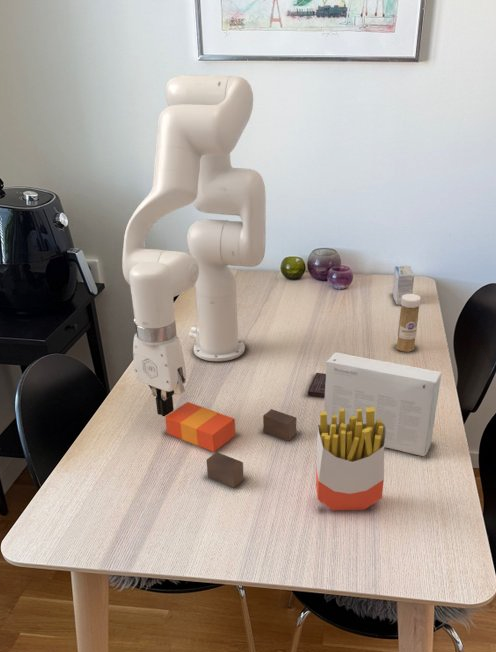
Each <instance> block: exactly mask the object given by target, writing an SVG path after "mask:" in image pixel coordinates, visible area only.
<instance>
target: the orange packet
mask: <svg viewBox="0 0 496 652" xmlns="http://www.w3.org/2000/svg"><path fill="white" fill-rule="evenodd" d="M164 419H165V427H166V434H167V435H170V436H172V437H175V438H177V439H180V440H182V441H185V442H187V443H189V444H193V445H194V446H197V447H200V448H203V449H205V450H207V451H210V452H213V453H216V452H217V451H218V450H219V449H220V448H221V447H222V446H224V445H225V444H226V443H228V442H229V441H231V439H233V438H234V437H235V436H236V419H235V418H234V417H232V416H228V415H226V414H223V413H220V412H218V411H215V410H212V409H210V408H207V407H205V406H204V407H203V406H200V405H198V404H195V403H192V402H189V401H187V402H185V403H184V404H182V405H181V406H179V407H178V408H176V409H174V410H173V411H172V412H171V413H169V414H168V415H166V416H164Z"/></svg>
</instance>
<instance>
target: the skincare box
mask: <svg viewBox="0 0 496 652" xmlns="http://www.w3.org/2000/svg"><path fill="white" fill-rule="evenodd" d="M325 374H326V384H325V398H323V399H324V400H323V401H324V403H323V404H324V405H323V406H324V408H323V410H324V411H323V412H325V411H327V425H331V423H332V415H337V424H339V411H340V409H345V424H349V420H350V417H351V416H356V418H357V409H361V410H362V419H363V424H366V408H369V407H374V410H375V419H374V424H376V419H382V423H384V425H385V428H386V437H385V447H384V448H385V449H386V448H387V449H391V450H395V451H399V452H404V453H407V454H412V455H416V456H421V457H425V456H426V455H427V453H428V452H429V451H430V448H431V446H432V440H433V433H434V426H435V420H436V413H437V407H438V406H437V405H438V399H439V393H440V387H441V380H442V379H441V378H442V371H438V370H432V369H426V368H420V367H416V366H411V365H406V364H400V363H395V362H391V361H390V362H389V361H384V360H379V359H372V358H368V357H363V356H357V355H351V354H348V353H347V354H346V353H341V352H337V351H336V352H334V353H333V354H332V355H331V356H330V357H329V358H328V359H327V360H326V362H325ZM356 422H357V419H356Z"/></svg>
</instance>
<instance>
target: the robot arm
mask: <svg viewBox="0 0 496 652" xmlns="http://www.w3.org/2000/svg"><path fill="white" fill-rule="evenodd" d="M165 99H166V103H167V107H165V108H164V109H163V110H162V111H161V112H160V114H159V116H158V120H157V131H156V141H155V150H154V151H155V152H154V162H153V173H152V186H151V189H150V192H149V193H148V195H147V196H146V197H145V198H144V199H143V200H142V201H141V202H140V203H139V205H138V206H137V207H136V209H135V210H134V212H133V213H132V215H131V217H130V218H129V220H128V223H127V225H126V228H125V232H124V236H123V246H122V258H121V259H122V260H121V263H122V266H121V268H122V275H123V277H124V280H125V282H126V283H127V284H128V285H129V289H130V294H131V299H132V300H131V303H132V309H133V316H134V317H133V318H134V319H133V324H134V325H135V332H136V333H134V336H133V345H132V358H133V369H134V370H133V371H134V376H135V379H136V380H137V381H138V382H140V383H142V384H145V385H147V386H148V387H149V388H150V390H151V394H152V396H153V397H154V398H155V406H156V412H157V413H156V414H157V415H159V416H161V417H166V416H167V415H169V414H170V413H172V412H173V411H175V409H174V408H175V407H174V400H173V396H174V395H176V396H177V395H178V396H181V395H182V394H184V393H185V392H186V389H185V386H184V384H186V382H187V369H186V363H185V356H184V352H183V347H182V344H181V340H180V337H179V336H178V333H177V322H176V321H177V320H176V313H175V312H176V311H175V301H174V298H175V297H177V296H180V295H182V294H184V293H187V292H188V291H189V290H191V289H192V288H193V287H194V290H195V303H196V315H197V326H195V325H192V326H191V327H190V331H189V332H188V335H187V336H188V337H189V338H191V339H195V341H196V342H195V343H194V345H193V353H194V355H195V356H196V357H197V358H199V359H201V360H204V361H207V362H227V361H232V360H235V359H237V358H239V357H241V356H242V355H243V354H244V353H245V350H246V344H245V342H244V341H242V340H241V339H240V338H239V325H238V323H239V321H238V301H237V283H236V282H237V281H236V277H235V276H234V273H233V271H232V270H231V268H230V266H232V267H243V268H244V267H245V268H254V267H257V266H259V265H261V263H262V262H263V260H264V258H265V253H266V241H267V240H266V239H267V238H266V233H267V231H266V230H267V228H266V227H267V225H266V221H267V220H266V217H267V213H266V209H267V208H266V207H267V206H266V205H267V203H266V201H267V200H266V199H267V198H266V196H267V195H266V185H265V181H264V178H263V176H262V175H261V173H259V171H257V170H255V169H251V168H245V167H243V168H242V167H233V166H232V164H231V163H232V162H231V153H232V152H233V151H234V149H235V148H236V146H237V144H238V143H239V140H240V139H241V136H242V134H243V133H244V131H245V129H246V127H247V125H248V124H249V121H250V118H251V115H252V112H253V109H254V92H253V90H252V86H251V84H250V83H249V81H248V80H247V79H245V78H244V77H242V76H236V75H209V74H184V75H178V76H175V77H171V78H170V79H169V80H168V81H167V82H166V85H165ZM191 204H193V205H194V207H195V209H196V210H197V211H199V212H201V213H204V214H211V215H222V216H237V217H240V220H241V221H239V220H237V221H236V220H228V219H213V218H212V219H211V218H210V219H209V218H206V219H200V220H196V221H194V222H193V223H192V224H191V225H190V226H189V228H188V231H187V234H186V243H187V250H188V252H184V251H177V250H167V249H166V250H165V249H154V248H146V243H147V237H148V235H149V232H150V230H151V229H152V228H153V226H154V225H155V224H156V222H158V221H159V220H160V219H161V218H163V217H165V216H166V215H168V214H170V213H172V212H174V211H177V210H179V209H182V208H184V207H186V206H189V205H191Z"/></svg>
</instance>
